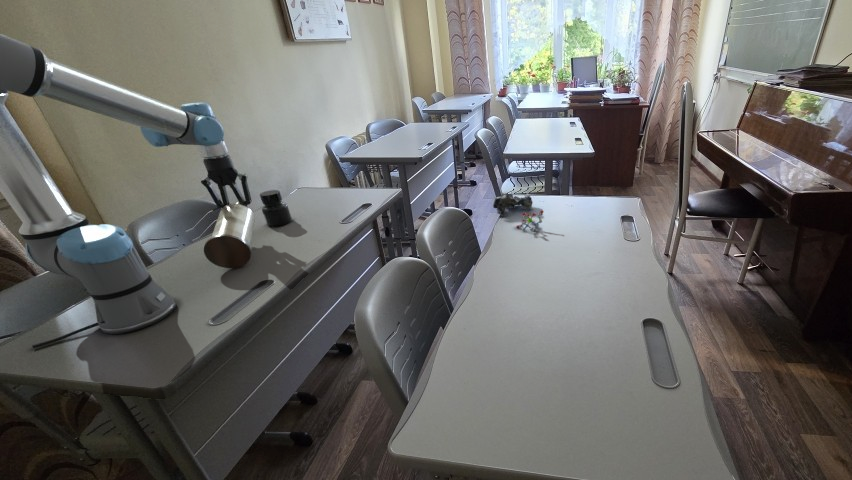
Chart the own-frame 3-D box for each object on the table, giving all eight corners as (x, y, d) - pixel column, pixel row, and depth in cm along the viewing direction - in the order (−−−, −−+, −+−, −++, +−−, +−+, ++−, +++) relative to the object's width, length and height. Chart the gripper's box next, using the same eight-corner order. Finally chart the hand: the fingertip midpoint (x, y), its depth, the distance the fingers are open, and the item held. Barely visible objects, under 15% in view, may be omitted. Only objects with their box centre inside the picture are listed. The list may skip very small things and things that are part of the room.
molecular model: (545, 230, 137) (545, 209, 134) (525, 235, 134) (525, 214, 131) (534, 223, 143) (534, 203, 139) (515, 228, 140) (514, 208, 136)
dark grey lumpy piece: (538, 206, 148) (503, 187, 143) (523, 229, 153) (489, 212, 148) (534, 195, 158) (501, 176, 153) (519, 217, 163) (487, 200, 158)
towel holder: (214, 271, 121) (195, 240, 114) (229, 221, 142) (214, 192, 134) (257, 264, 125) (241, 232, 117) (265, 216, 145) (252, 187, 138)
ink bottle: (278, 217, 161) (268, 188, 154) (297, 218, 159) (288, 189, 153) (261, 227, 152) (250, 196, 146) (281, 227, 151) (270, 197, 145)
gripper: (245, 150, 131) (269, 217, 143) (191, 156, 127) (221, 225, 139) (240, 155, 125) (266, 225, 137) (183, 161, 121) (215, 233, 133)
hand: (243, 225), depth 138 cm, fingers closed on towel holder, 2 cm apart
